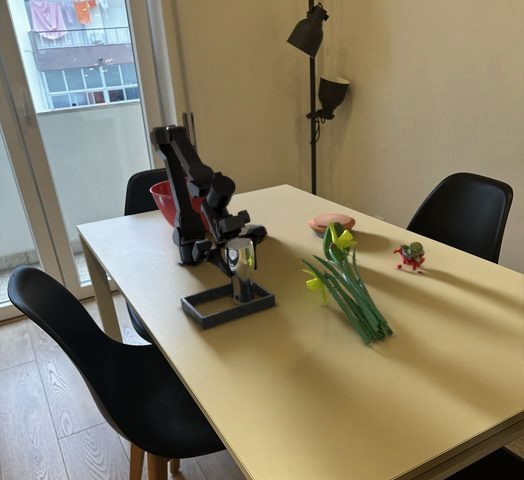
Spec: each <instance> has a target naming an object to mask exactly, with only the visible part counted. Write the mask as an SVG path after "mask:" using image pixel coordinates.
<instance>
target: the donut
mask: <svg viewBox="0 0 524 480" xmlns="http://www.w3.org/2000/svg"><path fill="white" fill-rule="evenodd" d="M259 225H260V224H258V223H248V224H245V226H246V227H245V228H241V229H242V232H241V233H239V236H241V235H244V234H246V233H247V231H248V229H249V228H252V227H256V226H259ZM261 225H262V226H264V225H263V224H261ZM265 229H266V231H267V232H268V229H267V227H265Z"/></svg>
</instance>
